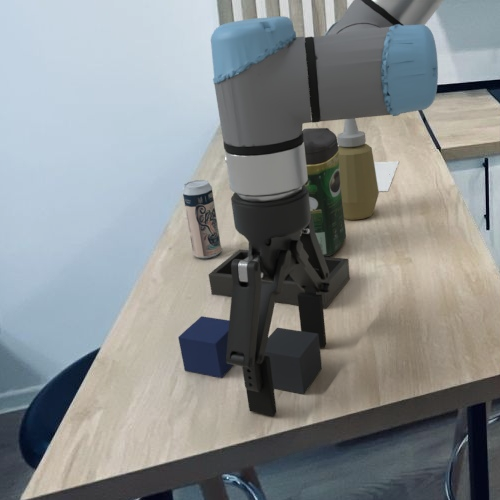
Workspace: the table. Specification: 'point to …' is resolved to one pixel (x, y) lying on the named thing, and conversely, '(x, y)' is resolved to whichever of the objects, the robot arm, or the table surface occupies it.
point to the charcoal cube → (293, 359)
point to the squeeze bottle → (356, 173)
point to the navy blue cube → (206, 347)
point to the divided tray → (290, 290)
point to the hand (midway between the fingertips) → (290, 375)
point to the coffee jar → (324, 188)
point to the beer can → (202, 219)
